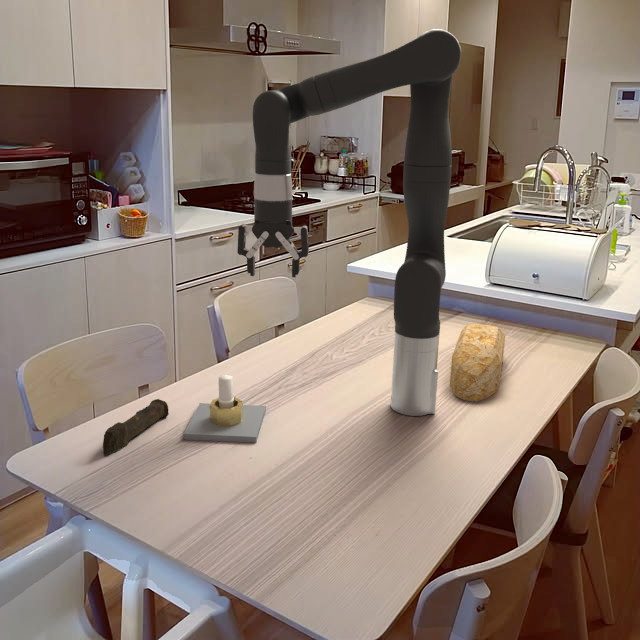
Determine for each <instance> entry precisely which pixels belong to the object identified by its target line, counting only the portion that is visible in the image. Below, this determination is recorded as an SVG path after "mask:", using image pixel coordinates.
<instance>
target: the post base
mask: <svg viewBox="0 0 640 640" xmlns="http://www.w3.org/2000/svg"><path fill="white" fill-rule="evenodd" d="M233 378H234V376H232V375H230V374H223V375H219V376H218V398H219V408H232V407H233V402H234V397H235V396H234V379H233ZM210 404H211V403H208V402H207V403H205V402H204V403H203V402H201V403H199V404H198V406H197V407H196V410H195V412H194V413H193V415H192V417H191V419H190V421H189V423H188V425H187V427H186V429H185V431H184V433H183V440H189V441H190V440H191V441H192V440H193V441H210V442H211V441H215V442H232V443H233V442H234V443H236V442H239V443H257V441H258V438H259V435H260V432H261V429H262V424H263V423H264V422H263V421H264V418H265V415H266V411H267V407H266V405H255V404H254V405H252V404H251V405H249V404H243V419H242V421H241V423H239V424H236V425H233V426H217V425H215V424H214V423H212V422H210Z"/></svg>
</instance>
